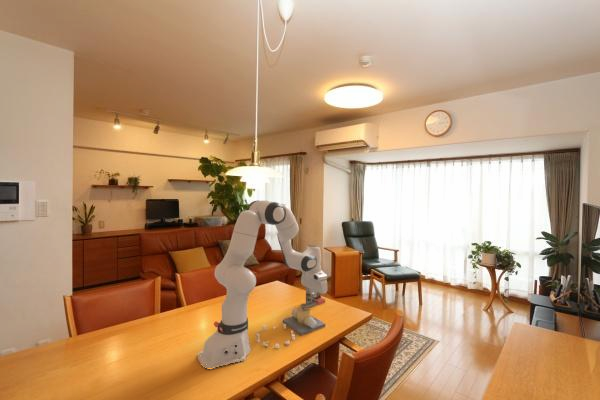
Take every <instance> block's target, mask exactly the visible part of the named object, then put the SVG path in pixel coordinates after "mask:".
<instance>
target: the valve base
mask: <svg viewBox="0 0 600 400" xmlns="http://www.w3.org/2000/svg"><path fill="white" fill-rule="evenodd" d="M282 324H283V325H284V324H286V327H289V329H291V330H292V331H293V332H295V333H296V334H298V335H300V336H304V335H307V334H309V333H312V332H315V331H317V330H319V329H322V328H324V327H326V322H323V321H322V320H320V319H318V318H317V317H315V316H313V315H312V314H311V310H310V309H309V307H307V308H305V309H303V308H301V307H300V308H298V309H297V308H293V309H292V310H291V316H290V317H287V318H284V319H282Z"/></svg>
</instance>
